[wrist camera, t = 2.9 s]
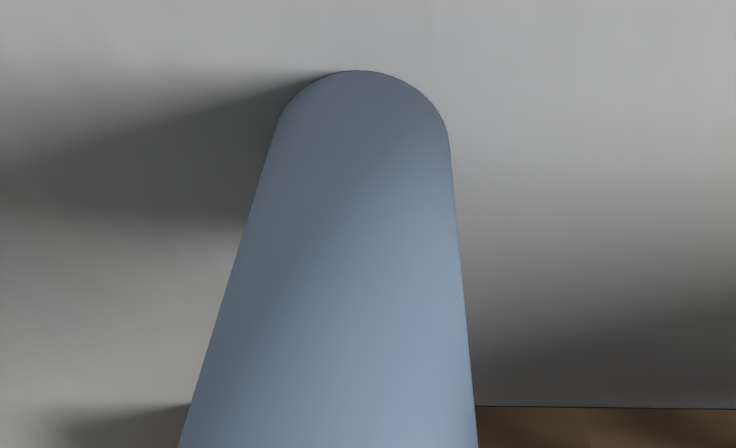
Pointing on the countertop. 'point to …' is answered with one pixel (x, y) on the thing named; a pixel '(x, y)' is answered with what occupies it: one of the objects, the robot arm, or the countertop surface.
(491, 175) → the countertop surface
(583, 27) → the countertop surface
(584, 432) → the socket block
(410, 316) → the peg
